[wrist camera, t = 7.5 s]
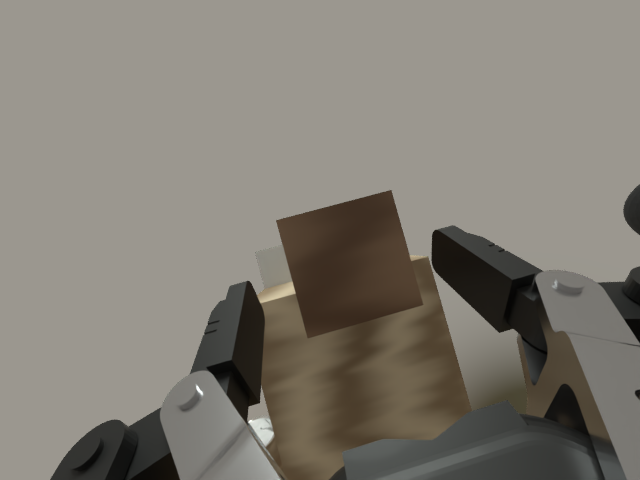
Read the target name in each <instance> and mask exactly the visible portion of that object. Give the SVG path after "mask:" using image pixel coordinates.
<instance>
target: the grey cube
mask: <svg viewBox="0 0 640 480" xmlns="http://www.w3.org/2000/svg"><path fill="white" fill-rule="evenodd" d="M255 253H256V257H257V261H258V265H259V269H260V273H261V277H262V280H263V284H264V288H265V289H266V288H270V287H273V286H277V285H280V284H284V283H288V282H291V281H292V278H291V274H290V271H289V267H288V263H287V259H286V255H285V252H284V248H283V245H280V246H277V247H273V248H269V249H266V250H262V251H258V252H255Z"/></svg>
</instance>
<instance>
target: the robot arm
mask: <svg viewBox="0 0 640 480" xmlns="http://www.w3.org/2000/svg"><path fill="white" fill-rule="evenodd" d="M623 210H624V217H625V220H626V221H627V223H628V225H629V226H630V227H631V228H632V229H633V230H634V231H635V232H637V233H638V234H639V235H640V185H638V186H637V187H636V188H635V189H634V190H633V191H632V192H631V194H630V195H629V196H628V198H627V200H626V202H625V205H624V209H623ZM432 265H433V268H434V270H435V271H436V273H437V274H438V275H439V276H440V277H441V278H443V280H444V281H445V282H446V283H448V284H449V285H450V286H451V287H452V288H453V289H454V290H455V291H456V292H457V293H458V294H459V295H460V296H461V297H462V298H463V299H464V300H465V301H466V302H468V303H469V304H470V305H471V306H472V307H473V308H474V309H475V310H476V311H477V312H478V313H479V314H480V315H481V316H482V317H483V318H484V319H485V320H486V321H488V322H489V323H490V324H491V325H492V326H493V327H494V328H495V329H496V330H497V331H498V332H499V333H500V332H504V331H507V330H510V329H515V330H516V331H517V332H518V336H517V343H518V348H519V353H520V358H521V363H522V368H523V373H524V378H525V383H526V388H527V398H528V399H527V414H518V413H517V411H516V410H515V409H514V408H513V406H512V405H511V404H510V403H509V402H508V400H506V401H503V402H500V403H497V404H493V405H490V406H487V407H484V408H481V409H477V410H474V411H471V412H468V413H466V414H465V415H464V416H463V417H461V418H460V419H459V420H458V421H456V422H455V423H454V424H453V425H451V426H450V427H449V428H448V429H446V430H445V431H444V432H443V433H441V434H440V435H439V436H438V437H436V438H435V439H432V440H407V439H382V440H378V441H375V442H372V443H369V444H366V445H362V446H359V447H356V448H353V449H350V450H346V451H343V452H342V456H343V461H344V466H343V467H342V468H340V469H339V470H338V471H337V472H336V473H335V474H334V475H333V476H332V477H331V478H330V479H329V480H640V267H637V268H634V269H632V270H631V271H630V273H629V275H628V277H627V279H626V280H625V282H606V283H605V282H603V283H597V282H595V281H593V280H592V279H589V278H587V277H585V276H583V275H580V274H576V273H573V272H568V271H561V270H549V271H542V270H540V269H539V268H537V267H535V266H533V265H531V264H530V263H528V262H526V261H524V260H522V259H521V258H519V257H517V256H515V255H514V254H512V253H510V252H508V251H505V250H504V249H502V248H501V247H499V246H498V245H495V244H494V243H492V242H490V241H489V240H487V239H485V238H483V237H480V236H477V235H473V234H470V233H466V232H464V231H463V230H461V229H459V228H458V227H456V226H449V227H445V228H441V229H438V230H435V231H434V232H433V234H432ZM264 330H265V316H264V311H263V308H262V305H261V303H260V301H259V299H258V297H257V295H256V292H255V290H254V288H253V286H252V284H251V283H250V281H246V282H242V283H239V284H235V285H232V286H230V287H229V290H228V293H227V297H226V300H223V301H220V302H219V303H218V304H217V306H216V307H215V308H214V310H213V311H212V312H211V315H210V318H209V321H208V326H207V327H206V329H205V332H204V334H205V335H204V336H203V338H202V341H201V344H200V347H199V349H198V352H197V355H196V358H195V361H194V364H193V366H192V370H191V373H190V375H188V376H186V377H185V378H183V379H182V380H181V381H180V382H178V383H177V384H176V385H175V386H174V387H173V388H172V390H171V391H170V392H169V394H168V395H167V397H166V398H165V400H164V402H163V404H162V407H161V408H159V409H157V410H156V411H154V412H153V413H151V414H149V415H147V416H146V417H144V418H143V419H141V420H139V421H137V422H136V423H134V424H133V425H131V426H129V427H128V426H127V425H125V424H124V423H123V422H121V421H120V420H110V421H107V422H105V423H102V424H100V425H99V426H97V427H95V428H94V429H92V430H91V431H90V432H88V433H87V434H86V435H85V436H84V437H83V438H81V439H80V440H79V441H78V442H77V443H76V444H75V445H74V446H73V447H72V448H71V450H70V451H69V452H68V453H67V454H66V456H65V457H64V458H63V460H62V461H61V463H60V464H59V466H58V468H57V469H56V471H55V473H54V474H53V476H52V478H51V479H50V480H288V479H287V477H286V476H285V475H284V473H283V472H282V470H281V469H280V467H279V466H278V465H277V463H276V462H275V460H274V459H273V457H272V456H271V454H270V453H269V451H268V450H267V448H266V447H265V445H264V444H263V443H262V441H261V440H260V438H259V437H258V435H257V434H256V432H255V431H254V429H253V428H252V426H251V425H250V424H249V422H248V421H247V417H248V407H249V406H252V405H255V404H258V403H260V392H261V377H262V361H263V345H264Z"/></svg>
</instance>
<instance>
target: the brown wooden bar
mask: <svg viewBox="0 0 640 480" xmlns="http://www.w3.org/2000/svg"><path fill="white" fill-rule="evenodd" d="M276 222H277V225H278V229H279V233H280V237H281V240H282V244H283V248H284V252H285V255H286V259H287V263H288V267H289V271H290V274H291V278H292V282H293V286H294V289H295V293H296V297H297V301H298V304H299V308H300V312H301V316H302V319H303V323H304V327H305V331H306V334H307V338H311V337H315V336H318V335H322V334H325V333H329V332H332V331H336V330H339V329H343V328H346V327H349V326H353V325H356V324H360V323H363V322H367V321H370V320H374V319H377V318H381V317H384V316H387V315H391V314H394V313H398V312H401V311H405V310H408V309H412V308H415V307H419V306H422V305H423V301H422V298H421V294H420V291H419V287H418V284H417V280H416V276H415V273H414V269H413V266H412V262H411V259H410V255H409V252H408V248H407V244H406V241H405V237H404V234H403V230H402V227H401V223H400V220H399V216H398V213H397V209H396V205H395V203H394V199H393V195H392V191H391V190H390V191H386V192H382V193H378V194H375V195H371V196H367V197H364V198H359V199H355V200H352V201H348V202H344V203H340V204H337V205H333V206H329V207H325V208H322V209H318V210H314V211H310V212H306V213H303V214H299V215H295V216H291V217H287V218H283V219H280V220H277V221H276Z"/></svg>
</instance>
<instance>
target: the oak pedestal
mask: <svg viewBox="0 0 640 480" xmlns="http://www.w3.org/2000/svg"><path fill="white" fill-rule="evenodd" d="M410 259H411V262H412V266H413V269H414V273H415V276H416V280H417V284H418V287H419V291H420V294H421V298H422V301H423V305H422V306H419V307H415V308H412V309H408V310H405V311H401V312H398V313H394V314H391V315H387V316H384V317H381V318H377V319H374V320H370V321H367V322H363V323H360V324H356V325H353V326H349V327H346V328H343V329H339V330H336V331H332V332H329V333H325V334H322V335H318V336H315V337H311V338H307V334H306V331H305V327H304V323H303V319H302V316H301V312H300V308H299V304H298V301H297V297H296V293H295V289H294V286H293V282H292V281H291V282H288V283H284V284H280V285H277V286H273V287H270V288H266V289H264V290H263V291H262V292H260V293H259V294H258V295H257V297H258V299H259V301H260V303H261V305H262V308H263V311H264V316H265V330H264V345H263V361H262V377H261V385H262V389H263V393H264V397H265V401H266V404H267V408H268V412H269V416H270V420H271V424H272V428H273V432H274V435H275V439H276V443H277V447H278V451H279V455H280V459H281V462H282V466H283V470H284V474H285V476H286V477H287V479H288V480H329V479H330V478H331V477H332V476H333V475H334V474H335V473H336V472H337V471H338V470H339V469H340V468H342V467H343V466H344V461H343V456H342V452H343V451H346V450H350V449H353V448H356V447H359V446H362V445H366V444H369V443H372V442H375V441H378V440H382V439H407V440H432V439H435V438H436V437H438V436H439V435H440V434H441V433H443V432H444V431H445V430H446V429H448V428H449V427H450V426H451V425H453V424H454V423H455V422H456V421H458V420H459V419H460V418H461V417H463V416H464V415H465V414H466V413H468V412H471V411H472V409H471V406H470V402H469V399H468V395H467V392H466V388H465V385H464V381H463V378H462V374H461V371H460V367H459V364H458V360H457V357H456V353H455V350H454V346H453V343H452V339H451V336H450V332H449V328H448V325H447V321H446V318H445V314H444V311H443V307H442V304H441V300H440V297H439V294H438V290H437V286H436V283H435V279H434V276H433V272H432V269H431V265H430V261H429V258H428V256H412V255H410Z"/></svg>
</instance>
